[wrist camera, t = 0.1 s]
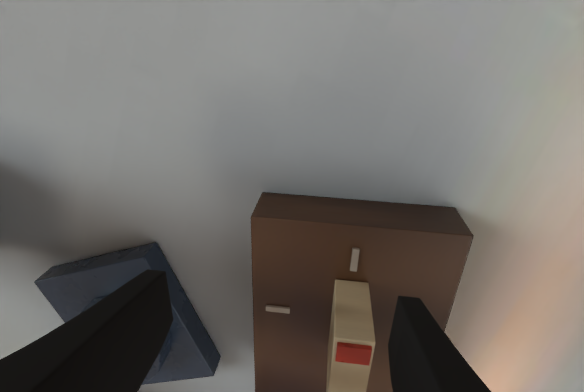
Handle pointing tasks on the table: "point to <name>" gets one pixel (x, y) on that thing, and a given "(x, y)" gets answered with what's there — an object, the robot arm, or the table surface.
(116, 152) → the table surface
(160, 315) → the robot arm
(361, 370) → the cream block red label
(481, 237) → the table surface
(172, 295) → the button box
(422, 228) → the panel
